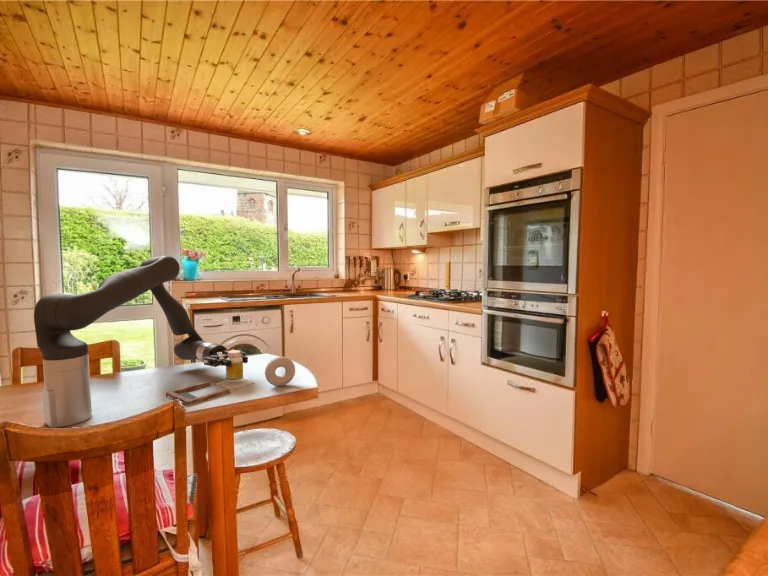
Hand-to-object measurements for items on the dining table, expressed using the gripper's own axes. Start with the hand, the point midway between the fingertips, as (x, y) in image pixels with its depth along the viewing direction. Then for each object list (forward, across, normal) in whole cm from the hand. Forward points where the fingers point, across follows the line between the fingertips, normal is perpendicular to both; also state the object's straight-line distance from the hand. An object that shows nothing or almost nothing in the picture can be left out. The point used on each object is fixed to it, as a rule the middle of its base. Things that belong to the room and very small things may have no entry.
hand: (238, 361), depth 129 cm
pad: (-2, 0, +8) cm, 8 cm away
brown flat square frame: (-2, -12, +8) cm, 15 cm away
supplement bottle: (-3, 0, +7) cm, 7 cm away
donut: (+12, +8, +8) cm, 16 cm away
